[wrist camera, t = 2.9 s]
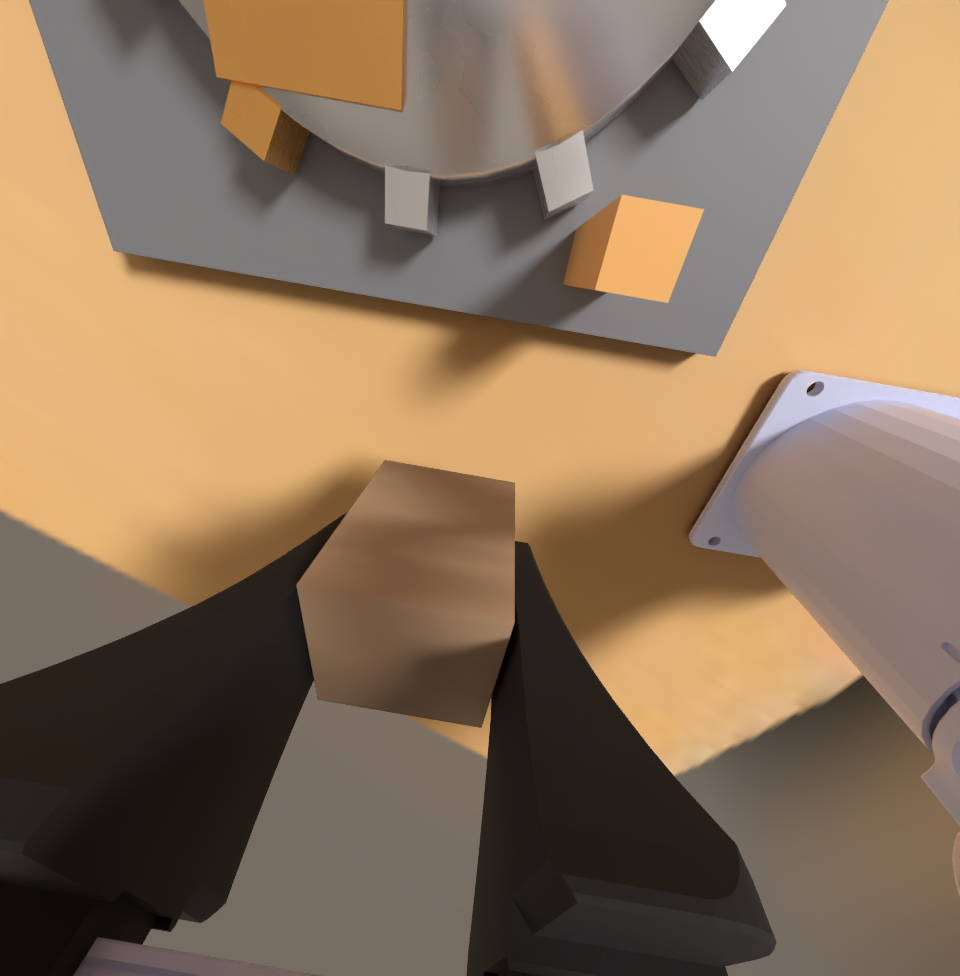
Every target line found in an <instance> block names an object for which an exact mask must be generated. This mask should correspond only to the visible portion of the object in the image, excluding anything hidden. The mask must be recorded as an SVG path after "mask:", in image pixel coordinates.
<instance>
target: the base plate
mask: <svg viewBox="0 0 960 976" xmlns="http://www.w3.org/2000/svg"><path fill="white" fill-rule="evenodd" d="M784 1H785V3H786V6H785V7H784V8H783V9H782V11H781V12H780V13H779V14H778V16H777V17H776V18H775V19H774V21H773V22H772V23H771V24H770V26H769V27H768V28H767V29H766V31H765V32H764V33H763V34H762V35H761V37H760V38H759V39H758V40H757V42H756V43H755V44H754V45H753V47H752V48H751V49H750V50H749V52H748V53H747V54H746V55H745V57H744V58H743V59H742V60H741V62H740V63H739V64H738V65H737V67H736V68H735V69H734V70H733V72H732V73H730V74H729V75H728V76H727V77H726V78H725V79H724V80H723V81H722V82H721V83H720V84H719V85H718V86H717V87H716V88H714V89H713V90H712V91H711V92H710V93H709V94H708V95H707V96H706V97H705V98H704V99H703V100H702V101H701V99H700V98H699V96H698V95H697V94H696V92H695V91H694V89H693V88H692V86H691V85H690V84H689V82H688V81H687V79H686V78H685V77H684V75H683V74H682V72H681V71H680V69H679V68H678V67H677V65H676V64H675V62H674V61H673V59H671V60H670V61H669V63H668V64H667V65H666V66H665V68H664V69H663V70H662V71H661V73H660V74H659V75H658V76H657V77H656V78H655V79H654V80H653V81H652V82H651V83H650V84H649V85H648V87H647V88H646V89H645V90H644V91H643V92H642V93H641V94H640V95H639V96H638V97H637V98H636V99H635V100H634V101H633V102H632V103H631V104H630V105H629V106H628V107H627V108H626V109H625V110H624V111H623V112H622V113H621V114H619V115H618V116H617V117H616V118H615V119H613V120H612V121H611V122H610V123H608V124H607V125H606V126H605V127H603V128H602V129H601V130H600V131H599V132H597V133H596V134H595V135H594V136H592V137H591V138H590V139H589V140H587V141H586V142H585V145H586V151H587V156H588V162H589V168H590V173H591V179H592V184H593V191H592V192H591V194H590V195H589V196H588V197H587V198H586V199H585V200H584V201H582V202H580V203H578V204H576V205H574V206H572V207H570V208H568V209H566V210H564V211H562V212H560V213H557V214H555V215H553V216H551V217H549V218H547V219H544V215H543V211H542V207H541V203H540V199H539V194H538V190H537V186H536V182H535V178H534V174H533V170H532V171H530V172H528V173H525V174H523V175H521V176H518V177H514V178H510V179H506V180H502V181H498V182H494V183H490V184H486V185H475V186H462V187H445V186H440V196H439V211H438V225H437V236H434V235H429V234H423V233H417V232H412V231H406V230H400V229H398V228H395V227H393V226H390V225H388V224H386V223H385V174H383V173H381V172H379V171H377V170H374V169H372V168H370V167H368V166H365V165H363V164H361V163H358V162H356V161H354V160H353V159H351V158H350V157H348V156H347V155H345V154H343V153H342V152H340V151H339V150H337V149H335V148H334V147H332V146H331V145H329V144H327V143H326V142H324V141H323V140H321V139H320V138H318V137H317V136H316V135H314V134H313V133H311V132H310V134H309V137H308V140H307V143H306V145H305V148H304V151H303V154H302V156H301V159H300V162H299V165H298V167H297V170H296V173H295V175H293V174H291V173H289V172H287V171H284V170H282V169H280V168H278V167H276V166H273V165H271V164H269V163H267V162H265V161H263V160H262V159H261V158H260V157H259V156H258V155H256V154H255V153H254V152H253V151H252V150H251V149H249V148H248V147H247V146H246V145H245V144H244V143H243V142H241V141H240V140H239V139H238V138H237V137H236V136H234V135H233V134H232V133H231V132H230V131H229V130H228V129H226V128H225V127H224V126H223V125H222V124H221V120H222V116H223V112H224V108H225V104H226V101H227V97H228V93H229V89H230V85H231V81H225V80H220V79H219V78H217V77H216V71H215V65H214V59H213V53H212V48H211V42H210V39H209V38H208V36H207V35H206V34H205V33H204V31H203V30H202V29H201V28H200V26H199V25H198V24H197V23H196V21H195V20H194V19H193V18H192V17H191V15H190V14H189V13H188V12H187V10H186V9H185V8H184V7H183V5H182V4H181V3H180V1H179V0H29V2H30V5H31V8H32V11H33V14H34V17H35V20H36V23H37V26H38V29H39V32H40V35H41V38H42V41H43V43H44V46H45V49H46V52H47V55H48V58H49V61H50V64H51V67H52V70H53V73H54V76H55V79H56V82H57V85H58V88H59V91H60V94H61V97H62V100H63V103H64V106H65V109H66V111H67V114H68V117H69V120H70V123H71V126H72V129H73V132H74V135H75V138H76V141H77V144H78V147H79V150H80V153H81V156H82V159H83V162H84V165H85V168H86V171H87V174H88V177H89V179H90V182H91V185H92V188H93V191H94V194H95V197H96V200H97V203H98V206H99V209H100V212H101V215H102V218H103V221H104V224H105V227H106V230H107V233H108V236H109V239H110V242H111V245H112V247H113V250H114V251H117V252H122V253H128V254H134V255H139V256H145V257H151V258H157V259H162V260H168V261H174V262H179V263H185V264H191V265H196V266H202V267H208V268H213V269H219V270H225V271H230V272H236V273H242V274H248V275H253V276H259V277H265V278H270V279H276V280H282V281H287V282H293V283H299V284H304V285H310V286H316V287H322V288H327V289H333V290H339V291H344V292H350V293H356V294H361V295H367V296H373V297H378V298H384V299H390V300H396V301H401V302H407V303H413V304H418V305H424V306H430V307H435V308H441V309H447V310H452V311H458V312H464V313H470V314H475V315H481V316H487V317H492V318H498V319H504V320H509V321H515V322H521V323H526V324H532V325H538V326H544V327H549V328H555V329H561V330H566V331H572V332H578V333H583V334H589V335H595V336H600V337H606V338H612V339H617V340H623V341H629V342H635V343H640V344H646V345H652V346H657V347H663V348H669V349H674V350H680V351H686V352H691V353H697V354H703V355H709V356H714V357H716V355H717V353H718V351H719V349H720V347H721V345H722V343H723V341H724V338H725V336H726V334H727V332H728V330H729V328H730V326H731V324H732V322H733V320H734V318H735V316H736V314H737V312H738V310H739V308H740V306H741V303H742V301H743V299H744V297H745V295H746V293H747V291H748V289H749V287H750V285H751V283H752V281H753V279H754V277H755V275H756V273H757V271H758V268H759V266H760V264H761V262H762V260H763V258H764V256H765V254H766V252H767V250H768V248H769V246H770V244H771V242H772V240H773V238H774V236H775V234H776V231H777V229H778V227H779V225H780V223H781V221H782V219H783V217H784V215H785V213H786V211H787V209H788V207H789V205H790V203H791V201H792V199H793V196H794V194H795V192H796V190H797V188H798V186H799V184H800V182H801V180H802V178H803V176H804V174H805V172H806V170H807V168H808V166H809V164H810V161H811V159H812V157H813V155H814V153H815V151H816V149H817V147H818V145H819V143H820V141H821V139H822V137H823V135H824V133H825V131H826V129H827V126H828V124H829V122H830V120H831V118H832V116H833V114H834V112H835V110H836V108H837V106H838V104H839V102H840V100H841V98H842V96H843V94H844V92H845V89H846V87H847V85H848V83H849V81H850V79H851V77H852V75H853V73H854V71H855V69H856V67H857V65H858V63H859V61H860V59H861V57H862V54H863V52H864V50H865V48H866V46H867V44H868V42H869V40H870V38H871V36H872V34H873V32H874V30H875V28H876V26H877V24H878V22H879V19H880V17H881V15H882V13H883V11H884V9H885V7H886V5H887V3H888V1H889V0H784Z"/></svg>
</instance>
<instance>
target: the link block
mask: <svg viewBox="0 0 960 976" xmlns="http://www.w3.org/2000/svg"><path fill="white" fill-rule="evenodd" d="M296 586H297V591H298V596H299V602H300V607H301V612H302V618H303V623H304V628H305V634H306V639H307V644H308V650H309V655H310V660H311V666H312V671H313V676H314V682H315V687H316V692H317V697H318V700H324V701H329V702H336V703H340V704H347V705H353V706H358V707H364V708H369V709H376V710H382V711H387V712H393V713H399V714H404V715H410V716H416V717H422V718H428V719H433V720H439V721H445V722H451V723H457V724H463V725H468V726H474V727H480V728H481V727H482V724H483V721H484V718H485V715H486V711H487V708H488V705H489V702H490V699H491V696H492V693H493V689H494V686H495V683H496V680H497V677H498V674H499V670H500V667H501V664H502V661H503V658H504V655H505V651H506V648H507V645H508V642H509V639H510V636H511V632H512V629H513V626H514V623H515V483H513V482H507V481H502V480H496V479H490V478H484V477H479V476H473V475H467V474H462V473H456V472H450V471H444V470H439V469H433V468H427V467H421V466H416V465H410V464H404V463H399V462H393V461H387V460H385V461H384V462H383V464H382V465H381V466H380V468H379V469H378V471H377V472H376V473H375V475H374V476H373V478H372V479H371V480H370V482H369V483H368V485H367V486H366V487H365V489H364V490H363V492H362V493H361V495H360V496H359V497H358V499H357V500H356V502H355V503H354V504H353V506H352V507H351V509H350V510H349V511H348V513H347V514H346V516H345V517H344V518H343V520H342V521H341V523H340V524H339V526H338V527H337V528H336V530H335V531H334V533H333V534H332V535H331V537H330V538H329V540H328V541H327V542H326V544H325V545H324V547H323V548H322V549H321V551H320V552H319V554H318V555H317V557H316V558H315V559H314V561H313V562H312V564H311V565H310V566H309V568H308V569H307V571H306V572H305V573H304V575H303V576H302V578H301V579H300V580H299V582H298V583H297V585H296Z"/></svg>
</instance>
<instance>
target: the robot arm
mask: <svg viewBox="0 0 960 976" xmlns="http://www.w3.org/2000/svg"><path fill="white" fill-rule="evenodd" d="M815 382H816V385H815V387H814V388H813V389H812V390H811V391H810V392H808V393H807V392H806V391H807V389H808V387H809V386H810V385H811V384H813V383H815ZM347 513H348V512H347ZM347 513H345V514H344V515H342V516H341V517H339V518H338V519H336V520H335V521H333V522H332V523H331V524H329V525H328V526H326V527H325V528H323V529H322V530H320V531H319V532H318V533H316V534H315V535H313V536H312V537H310V538H309V539H307V540H306V541H304V542H303V543H301V544H300V545H298V546H297V547H295V548H294V549H292V550H291V551H289V552H288V553H286V554H285V555H283V556H282V557H280V558H279V559H277V560H275V561H274V562H272V563H270V564H269V565H267V566H266V567H264V568H262V569H261V570H259V571H257V572H256V573H254V574H252V575H251V576H249V577H247V578H246V579H244V580H242V581H240V582H239V583H237V584H235V585H233V586H231V587H229V588H228V589H226V590H224V591H222V592H220V593H218V594H216V595H214V596H212V597H210V598H208V599H206V600H205V601H203V602H201V603H199V604H197V605H195V606H192V607H190V608H188V609H186V610H184V611H182V612H180V613H177V614H175V615H173V616H171V617H169V618H167V619H164V620H162V621H160V622H158V623H155V624H153V625H151V626H149V627H147V628H144V629H142V630H140V631H138V632H136V633H133V634H131V635H128V636H126V637H124V638H121V639H119V640H116V641H114V642H112V643H109V644H107V645H104V646H102V647H99V648H97V649H94V650H92V651H89V652H86V653H84V654H81V655H79V656H76V657H74V658H71V659H68V660H66V661H63V662H61V663H58V664H55V665H53V666H50V667H47V668H44V669H42V670H39V671H36V672H34V673H31V674H28V675H25V676H22V677H19V678H16V679H14V680H11V681H8V682H5V683H2V684H0V976H321V975H315V974H309V973H303V972H297V971H291V970H286V969H280V968H274V967H268V966H262V965H257V964H251V963H245V962H239V961H234V960H228V959H221V958H216V957H210V956H204V955H198V954H193V953H187V952H181V951H175V950H169V949H164V948H158V947H152V946H146V945H142V944H143V942H144V940H145V939H146V937H147V935H148V933H149V931H150V930H151V929H156V930H162V931H168V932H171V930H172V929H173V928H174V927H175V925H176V923H177V921H178V919H182V920H187V921H193V922H199V923H201V922H203V921H205V920H207V919H208V918H209V917H210V916H212V915H213V914H214V913H215V912H216V911H218V910H219V909H220V908H221V907H222V906H223V905H224V904H225V903H226V901H227V898H228V895H229V892H230V890H231V887H232V884H233V881H234V878H235V876H236V873H237V870H238V868H239V865H240V862H241V859H242V857H243V854H244V851H245V849H246V846H247V843H248V840H249V837H250V835H251V832H252V829H253V826H254V824H255V821H256V819H257V816H258V814H259V811H260V809H261V806H262V803H263V801H264V798H265V796H266V793H267V791H268V788H269V786H270V783H271V780H272V778H273V775H274V772H275V770H276V768H277V765H278V763H279V760H280V758H281V755H282V753H283V751H284V748H285V746H286V743H287V741H288V738H289V736H290V733H291V731H292V729H293V726H294V724H295V721H296V719H297V717H298V715H299V712H300V710H301V708H302V705H303V703H304V701H305V698H306V696H307V694H308V691H309V689H310V687H311V685H312V683H313V681H314V676H313V671H312V666H311V660H310V655H309V650H308V644H307V639H306V634H305V628H304V623H303V618H302V612H301V607H300V602H299V596H298V591H297V586H296V585H297V583H298V582H299V580H300V579H301V578H302V576H303V575H304V573H305V572H306V571H307V569H308V568H309V566H310V565H311V564H312V562H313V561H314V559H315V558H316V557H317V555H318V554H319V552H320V551H321V549H322V548H323V547H324V545H325V544H326V542H327V541H328V540H329V538H330V537H331V535H332V534H333V533H334V531H335V530H336V528H337V527H338V526H339V524H340V523H341V521H342V520H343V518H344V517H345V516H346V514H347ZM713 537H715V538H714V539H712V540H710V539H711V538H713ZM689 540H690V541H691V543H692V544H693V545H694V546H696V547H700V548H706V549H712V550H718V551H723V552H729V553H735V554H741V555H747V556H753V557H758V558H761V559H762V560H763V561H764V562H765V563H766V564H767V566H768V567H769V568H770V569H771V570H772V571H773V572H774V574H775V575H776V576H777V577H778V578H779V579H780V580H781V582H782V583H783V584H784V585H785V586H786V587H787V588H788V590H789V591H790V592H791V593H792V594H793V595H794V596H795V598H796V599H797V600H798V601H799V602H800V603H801V604H802V606H803V607H804V608H805V609H806V610H807V611H808V612H809V614H810V615H811V616H812V617H813V618H814V619H815V620H816V622H817V623H818V624H819V625H820V626H821V627H822V628H823V629H824V631H825V632H826V633H827V634H828V635H829V636H830V637H831V639H832V640H833V641H834V642H835V643H836V644H837V645H838V647H839V648H840V649H841V650H842V651H843V652H844V653H845V655H846V656H847V657H848V658H849V659H850V660H851V661H852V663H853V664H854V665H855V666H856V667H857V668H858V669H859V671H860V672H861V673H862V674H863V675H864V676H865V677H866V678H867V679H868V681H869V682H870V683H871V684H872V685H873V686H874V688H875V689H876V690H877V691H878V692H879V693H880V695H881V696H882V697H883V698H884V699H885V700H886V701H887V703H888V704H889V705H890V706H891V707H892V708H893V709H894V710H895V712H896V713H897V714H898V715H899V716H900V717H901V718H902V720H903V721H904V722H905V723H906V724H907V725H908V727H909V728H910V729H911V730H912V731H913V732H914V733H915V734H916V736H917V737H918V738H919V739H920V740H921V741H922V742H923V744H924V745H925V746H926V747H927V748H928V749H929V750H931V751H932V752H933V753H934V755H935V759H936V760H935V763H934V765H933V766H932V767H931V768H930V769H929V770H928V771H926V772H925V773H924V774H923V775H922V780H923V781H924V782H925V783H926V785H927V786H928V787H929V788H930V789H931V791H932V792H933V793H934V794H935V796H936V797H937V798H938V799H939V801H940V802H941V803H942V804H943V805H944V807H945V808H946V809H947V810H948V812H949V813H950V814H951V815H952V817H953V818H954V819H955V820H956V821H957V823H958V824H959V825H960V397H955V396H950V395H944V394H938V393H933V392H927V391H921V390H916V389H910V388H904V387H898V386H893V385H887V384H881V383H876V382H870V381H864V380H859V379H853V378H847V377H842V376H836V375H830V374H824V373H819V372H813V371H807V370H796V371H793V372H791V373H789V374H788V375H786V376H785V377H784V378H783V379H782V381H781V382H780V384H779V385H778V387H777V389H776V390H775V392H774V394H773V395H772V397H771V399H770V400H769V402H768V404H767V405H766V407H765V408H764V410H763V412H762V413H761V415H760V417H759V418H758V420H757V422H756V423H755V425H754V427H753V428H752V430H751V432H750V433H749V435H748V437H747V438H746V440H745V442H744V443H743V445H742V447H741V448H740V450H739V452H738V453H737V455H736V457H735V458H734V460H733V462H732V463H731V465H730V467H729V468H728V470H727V472H726V473H725V475H724V477H723V478H722V480H721V482H720V483H719V485H718V487H717V488H716V490H715V491H714V493H713V495H712V496H711V498H710V500H709V501H708V503H707V505H706V506H705V508H704V510H703V511H702V513H701V515H700V516H699V518H698V520H697V521H696V523H695V525H694V526H693V528H692V530H691V531H690V533H689ZM952 858H953V868H954V878H955V881H956V885H957V888H958V891H959V895H960V831H959V833H958V834H957V836H956V838H955V843H954V849H953V854H952ZM775 945H776V939H775V937H774V934H773V932H772V929H771V927H770V924H769V921H768V919H767V916H766V914H765V911H764V909H763V906H762V903H761V900H760V898H759V895H758V893H757V890H756V888H755V885H754V882H753V880H752V878H751V876H750V873H749V871H748V869H747V867H746V865H745V863H744V861H743V858H742V856H741V854H740V852H739V849H738V847H737V845H736V844H735V842H734V841H733V840H732V839H731V838H730V837H729V836H728V835H727V834H726V833H725V832H724V831H723V830H722V828H721V827H720V826H719V825H718V824H717V823H716V822H715V821H714V820H713V818H712V817H711V816H710V815H709V814H708V813H707V812H706V811H705V810H704V809H703V808H702V807H701V805H700V804H699V803H698V802H697V801H696V800H695V799H694V798H693V797H692V796H691V794H690V793H689V792H688V791H687V790H686V789H685V788H684V787H683V786H682V785H681V784H680V782H679V781H678V780H677V779H676V778H675V777H674V775H673V774H672V773H671V772H670V771H669V770H668V768H667V767H666V766H665V765H664V764H663V762H662V761H661V760H660V759H659V758H658V756H657V755H656V754H655V753H654V752H653V750H652V749H651V748H650V747H649V746H648V744H647V743H646V742H645V740H644V739H643V738H642V737H641V735H640V734H639V733H638V731H637V730H636V729H635V727H634V726H633V725H632V724H631V722H630V721H629V720H628V718H627V717H626V716H625V714H624V713H623V712H622V711H621V709H620V708H619V707H618V705H617V704H616V703H615V701H614V700H613V699H612V697H611V696H610V694H609V693H608V692H607V690H606V689H605V687H604V686H603V684H602V683H601V682H600V680H599V679H598V677H597V676H596V674H595V673H594V671H593V670H592V668H591V667H590V665H589V664H588V662H587V660H586V659H585V657H584V656H583V654H582V653H581V651H580V649H579V648H578V646H577V644H576V643H575V641H574V639H573V638H572V636H571V634H570V632H569V630H568V629H567V627H566V625H565V623H564V621H563V620H562V618H561V616H560V614H559V612H558V610H557V608H556V606H555V604H554V602H553V600H552V598H551V596H550V594H549V592H548V590H547V587H546V585H545V583H544V581H543V578H542V576H541V574H540V571H539V569H538V566H537V564H536V561H535V559H534V556H533V553H532V550H531V547H530V546H529V544H528V543H523V542H517V541H515V623H514V626H513V629H512V632H511V636H510V639H509V642H508V645H507V648H506V651H505V655H504V658H503V661H502V664H501V667H500V670H499V674H498V677H497V680H496V683H495V686H494V689H493V693H492V696H491V722H490V734H489V747H488V759H487V771H486V782H485V793H484V805H483V815H482V825H481V835H480V846H479V856H478V867H477V876H476V886H475V895H474V905H473V914H472V925H471V933H470V942H469V951H468V964H467V976H728V974H727V971H726V968H725V966H729V965H733V964H738V963H742V962H746V961H751V960H755V959H760V958H762V957H765V956H768V955H770V954H771V953H772V952H773V951H774V948H775Z"/></svg>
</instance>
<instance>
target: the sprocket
mask: <svg viewBox="0 0 960 976" xmlns="http://www.w3.org/2000/svg"><path fill="white" fill-rule="evenodd" d="M179 1H180V3H181V4H182V5H183V7H184V8H185V9H186V10H187V12H188V13H189V14H190V15H191V17H192V18H193V19H194V20H195V21H196V23H197V24H198V25H199V26H200V28H201V29H202V30H203V31H204V33H205V34H206V35H207V36H208V38H209V39H210V42H211V48H212V53H213V59H214V65H215V71H216V77H217V78H219V79H220V80H225V81H231V85H230V89H229V93H228V97H227V101H226V104H225V108H224V112H223V116H222V120H221V124H222V125H223V126H224V127H225V128H226V129H228V130H229V131H230V132H231V133H232V134H233V135H234V136H236V137H237V138H238V139H239V140H240V141H241V142H243V143H244V144H245V145H246V146H247V147H248V148H249V149H251V150H252V151H253V152H254V153H255V154H256V155H258V156H259V157H260V158H261V159H262V160H263V161H265V162H267V163H269V164H271V165H273V166H276V167H278V168H280V169H282V170H284V171H287V172H289V173H291V174H293V175H295V173H296V170H297V167H298V165H299V162H300V159H301V156H302V154H303V151H304V148H305V145H306V143H307V140H308V137H309V134H310V132H311V133H313V134H314V135H316V136H317V137H318V138H320V139H321V140H323V141H324V142H326V143H327V144H329V145H331V146H332V147H334V148H335V149H337V150H339V151H340V152H342V153H343V154H345V155H347V156H348V157H350V158H351V159H353V160H354V161H356V162H358V163H361V164H363V165H365V166H368V167H370V168H372V169H374V170H377V171H379V172H381V173H383V174H385V223H386V224H388V225H390V226H393V227H395V228H398V229H400V230H406V231H412V232H417V233H423V234H429V235H434V236H437V225H438V211H439V196H440V186H445V187H462V186H475V185H486V184H490V183H494V182H498V181H502V180H506V179H510V178H514V177H518V176H521V175H523V174H525V173H528V172H530V171H532V170H533V174H534V178H535V182H536V186H537V190H538V194H539V199H540V203H541V207H542V211H543V215H544V219H547V218H549V217H551V216H553V215H555V214H557V213H560V212H562V211H564V210H566V209H568V208H570V207H572V206H574V205H576V204H578V203H580V202H582V201H584V200H585V199H586V198H587V197H588V196H589V195H590V194H591V192H592V191H593V184H592V179H591V173H590V168H589V162H588V156H587V151H586V145H585V142H586V141H587V140H589V139H590V138H591V137H592V136H594V135H595V134H596V133H597V132H599V131H600V130H601V129H602V128H603V127H605V126H606V125H607V124H608V123H610V122H611V121H612V120H613V119H615V118H616V117H617V116H618V115H619V114H621V113H622V112H623V111H624V110H625V109H626V108H627V107H628V106H629V105H630V104H631V103H632V102H633V101H634V100H635V99H636V98H637V97H638V96H639V95H640V94H641V93H642V92H643V91H644V90H645V89H646V88H647V87H648V85H649V84H650V83H651V82H652V81H653V80H654V79H655V78H656V77H657V76H658V75H659V74H660V73H661V71H662V70H663V69H664V68H665V66H666V65H667V64H668V63H669V61H670V60H671V59H673V61H674V62H675V64H676V65H677V67H678V68H679V69H680V71H681V72H682V74H683V75H684V77H685V78H686V79H687V81H688V82H689V84H690V85H691V86H692V88H693V89H694V91H695V92H696V94H697V95H698V96H699V98H700V99H701V101H702V100H703V99H704V98H705V97H706V96H707V95H708V94H709V93H710V92H711V91H712V90H713V89H714V88H716V87H717V86H718V85H719V84H720V83H721V82H722V81H723V80H724V79H725V78H726V77H727V76H728V75H729V74H730V73H732V72H733V70H734V69H735V68H736V67H737V65H738V64H739V63H740V62H741V60H742V59H743V58H744V57H745V55H746V54H747V53H748V52H749V50H750V49H751V48H752V47H753V45H754V44H755V43H756V42H757V40H758V39H759V38H760V37H761V35H762V34H763V33H764V32H765V31H766V29H767V28H768V27H769V26H770V24H771V23H772V22H773V21H774V19H775V18H776V17H777V16H778V14H779V13H780V12H781V11H782V9H783V8H784V7H785V6H786V3H785V1H784V0H179Z"/></svg>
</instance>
